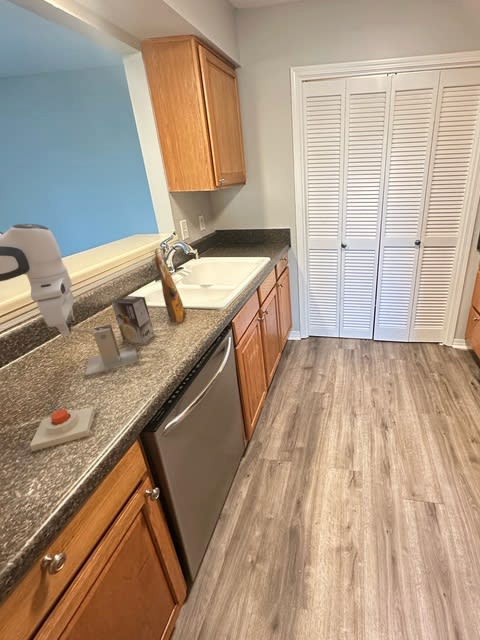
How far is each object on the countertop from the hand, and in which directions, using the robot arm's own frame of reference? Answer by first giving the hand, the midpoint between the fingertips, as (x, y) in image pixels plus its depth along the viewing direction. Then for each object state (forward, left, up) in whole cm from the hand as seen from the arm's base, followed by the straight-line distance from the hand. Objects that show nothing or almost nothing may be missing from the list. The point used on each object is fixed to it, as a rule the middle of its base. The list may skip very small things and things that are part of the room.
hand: (68, 327), depth 94 cm
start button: (+1, -27, -12) cm, 30 cm away
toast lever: (+4, 0, -3) cm, 5 cm away
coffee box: (+15, +14, -15) cm, 25 cm away
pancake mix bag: (+28, +29, -15) cm, 43 cm away
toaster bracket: (+8, +1, -15) cm, 17 cm away
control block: (+1, -27, -15) cm, 31 cm away
